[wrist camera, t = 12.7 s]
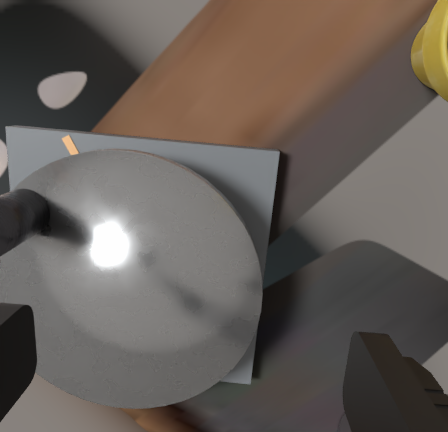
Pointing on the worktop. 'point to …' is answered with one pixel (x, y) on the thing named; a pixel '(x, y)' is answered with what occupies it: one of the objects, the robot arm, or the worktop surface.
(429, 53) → the plant pot
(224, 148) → the wheel base
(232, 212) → the handwheel
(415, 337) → the worktop surface
